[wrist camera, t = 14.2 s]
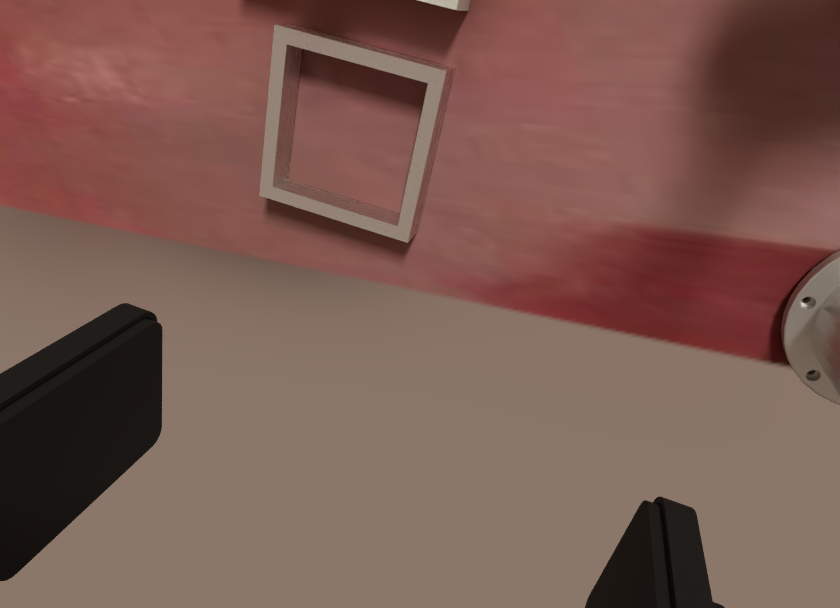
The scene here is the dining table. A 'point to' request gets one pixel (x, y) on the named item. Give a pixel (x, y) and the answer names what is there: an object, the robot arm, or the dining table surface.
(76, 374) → the robot arm
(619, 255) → the dining table surface
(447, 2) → the tray
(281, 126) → the collar
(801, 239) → the dining table surface
